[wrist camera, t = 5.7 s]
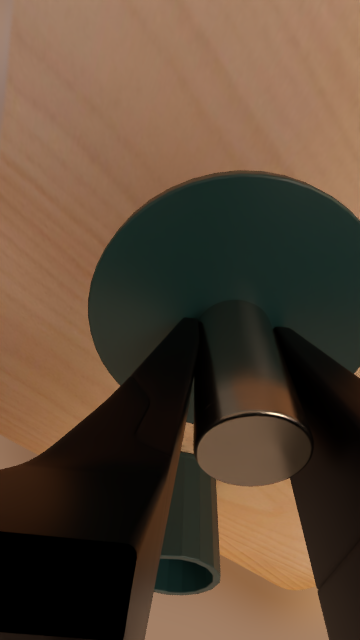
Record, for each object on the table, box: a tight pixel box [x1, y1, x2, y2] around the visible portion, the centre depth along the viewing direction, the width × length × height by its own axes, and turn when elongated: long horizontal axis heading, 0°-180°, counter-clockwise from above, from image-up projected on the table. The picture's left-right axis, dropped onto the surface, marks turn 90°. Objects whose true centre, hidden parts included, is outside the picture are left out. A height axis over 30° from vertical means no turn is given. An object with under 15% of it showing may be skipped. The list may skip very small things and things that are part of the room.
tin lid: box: [88, 171, 360, 486], centre depth 8 cm, size 8×8×5 cm
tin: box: [154, 452, 220, 595], centre depth 30 cm, size 8×8×9 cm
